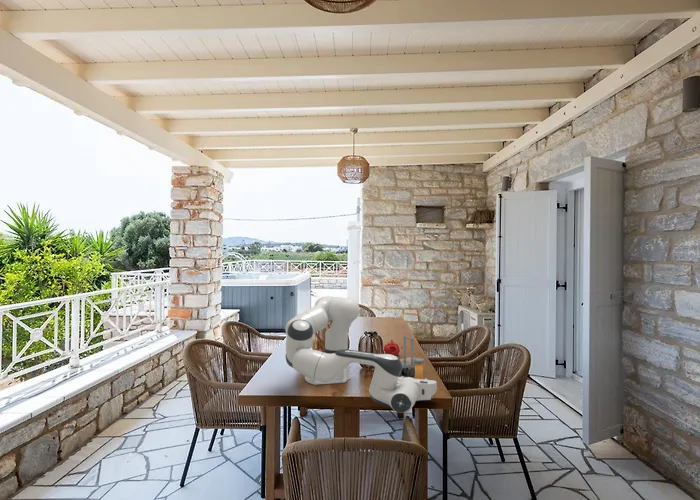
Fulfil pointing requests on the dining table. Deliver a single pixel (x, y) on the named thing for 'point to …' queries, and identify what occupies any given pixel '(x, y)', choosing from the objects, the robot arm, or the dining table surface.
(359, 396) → the dining table surface
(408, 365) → the trolley
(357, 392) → the dining table surface
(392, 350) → the red hollow tomato
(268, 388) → the dining table surface
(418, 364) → the pin
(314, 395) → the dining table surface
